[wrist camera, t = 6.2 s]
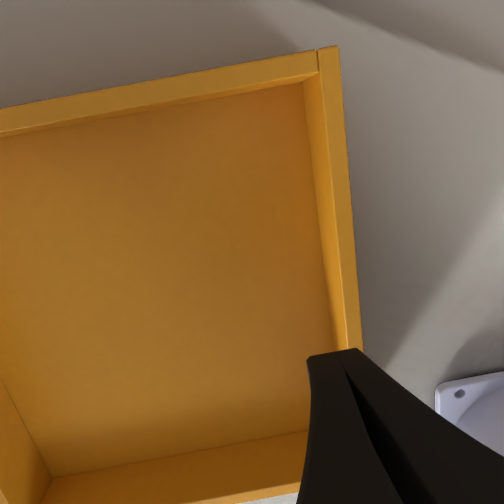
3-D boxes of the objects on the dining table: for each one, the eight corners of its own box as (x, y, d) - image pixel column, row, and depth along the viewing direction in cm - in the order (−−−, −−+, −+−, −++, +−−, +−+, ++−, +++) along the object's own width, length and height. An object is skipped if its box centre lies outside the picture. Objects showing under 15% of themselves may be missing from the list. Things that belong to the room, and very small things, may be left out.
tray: (314, 61, 13) (339, 44, 10) (351, 422, 18) (374, 478, 15) (-124, 143, 13) (-226, 150, 10) (49, 479, 18) (16, 545, 15)
